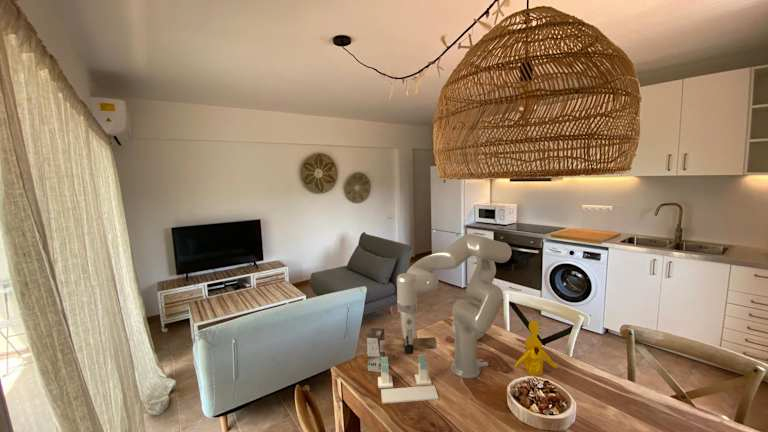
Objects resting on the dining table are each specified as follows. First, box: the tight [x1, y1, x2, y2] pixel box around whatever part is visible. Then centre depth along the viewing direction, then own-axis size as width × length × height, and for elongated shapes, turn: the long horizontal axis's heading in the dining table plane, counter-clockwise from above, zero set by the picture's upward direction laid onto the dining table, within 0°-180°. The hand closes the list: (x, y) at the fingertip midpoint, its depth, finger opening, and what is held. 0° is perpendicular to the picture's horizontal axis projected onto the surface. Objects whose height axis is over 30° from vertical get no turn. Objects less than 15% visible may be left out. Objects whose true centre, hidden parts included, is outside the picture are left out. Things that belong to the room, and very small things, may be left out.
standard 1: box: [377, 356, 394, 389], centre depth 130 cm, size 6×6×10 cm
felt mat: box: [380, 385, 440, 404], centre depth 123 cm, size 22×7×1 cm, turn 93°
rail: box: [380, 336, 438, 353], centre depth 120 cm, size 22×3×3 cm, turn 93°
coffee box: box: [366, 327, 386, 373], centre depth 141 cm, size 9×6×16 cm
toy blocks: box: [414, 354, 432, 387], centre depth 131 cm, size 6×6×10 cm
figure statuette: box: [514, 319, 559, 376], centre depth 134 cm, size 18×8×22 cm, turn 84°
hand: (408, 350), depth 120 cm, fingers closed on rail, 3 cm apart
